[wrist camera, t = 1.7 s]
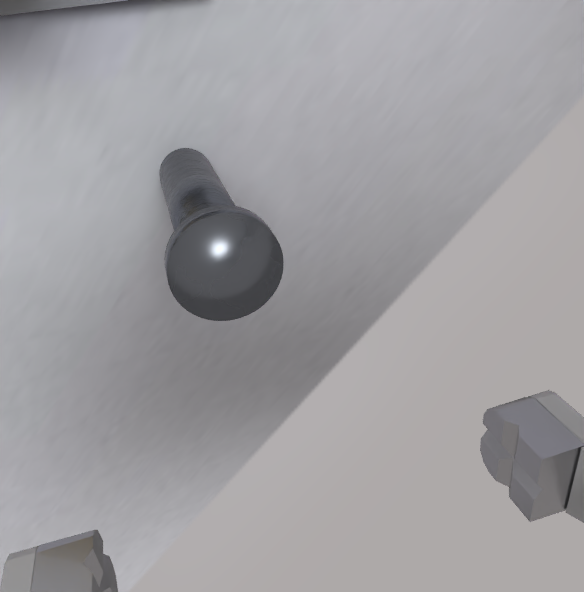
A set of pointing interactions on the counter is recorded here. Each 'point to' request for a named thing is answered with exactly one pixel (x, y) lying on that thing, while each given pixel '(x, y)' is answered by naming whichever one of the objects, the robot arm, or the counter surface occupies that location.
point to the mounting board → (43, 5)
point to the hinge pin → (215, 243)
